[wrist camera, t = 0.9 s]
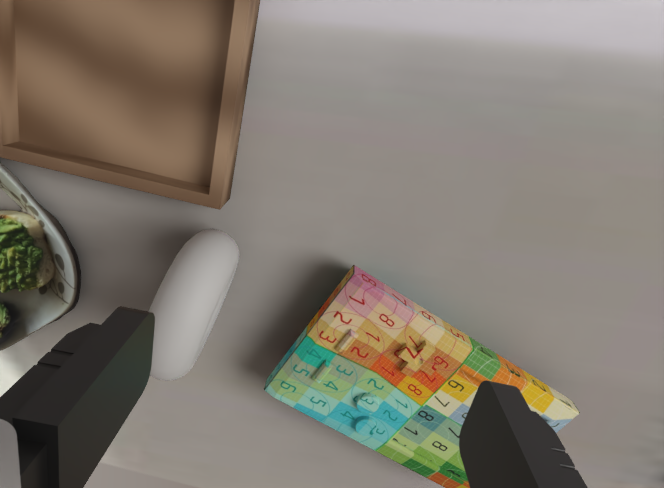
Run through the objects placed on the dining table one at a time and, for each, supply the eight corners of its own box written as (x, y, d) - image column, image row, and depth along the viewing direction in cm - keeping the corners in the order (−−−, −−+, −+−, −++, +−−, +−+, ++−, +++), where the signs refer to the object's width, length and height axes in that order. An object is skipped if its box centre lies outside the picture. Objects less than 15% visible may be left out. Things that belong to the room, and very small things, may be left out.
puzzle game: (353, 279, 28) (586, 422, 31) (353, 249, 32) (557, 378, 36) (261, 398, 32) (476, 513, 35) (272, 358, 36) (463, 463, 40)
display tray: (7, -112, 24) (-29, -130, 22) (266, -42, 25) (257, -53, 23) (18, 147, 30) (-10, 154, 28) (229, 198, 31) (219, 209, 28)
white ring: (216, 328, 35) (166, 425, 26) (174, 312, 34) (108, 404, 25) (259, 220, 31) (220, 287, 22) (213, 200, 31) (153, 260, 21)
